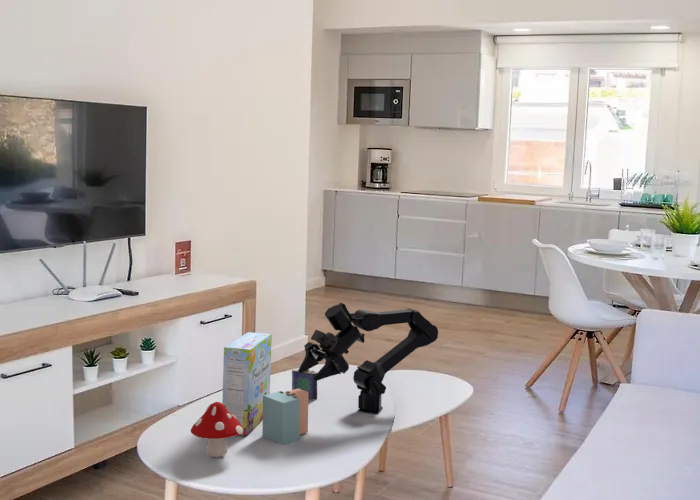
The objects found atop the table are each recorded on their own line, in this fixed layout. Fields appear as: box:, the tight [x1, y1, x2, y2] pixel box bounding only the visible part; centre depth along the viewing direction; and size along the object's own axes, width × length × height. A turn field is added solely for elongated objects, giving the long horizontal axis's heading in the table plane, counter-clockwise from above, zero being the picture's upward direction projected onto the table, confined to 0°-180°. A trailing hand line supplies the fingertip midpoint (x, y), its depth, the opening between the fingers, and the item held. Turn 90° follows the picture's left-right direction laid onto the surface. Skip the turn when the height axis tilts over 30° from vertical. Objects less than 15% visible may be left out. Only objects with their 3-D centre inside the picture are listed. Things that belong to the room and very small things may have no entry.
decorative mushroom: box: [190, 401, 243, 458], centre depth 218 cm, size 14×14×15 cm
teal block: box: [262, 390, 300, 446], centre depth 232 cm, size 6×9×12 cm, turn 45°
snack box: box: [221, 331, 273, 437], centre depth 243 cm, size 22×9×26 cm, turn 168°
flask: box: [291, 368, 318, 401], centre depth 270 cm, size 9×3×11 cm, turn 65°
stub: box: [284, 389, 309, 436], centre depth 236 cm, size 5×4×12 cm
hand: (306, 376), depth 244 cm, fingers open, 9 cm apart
